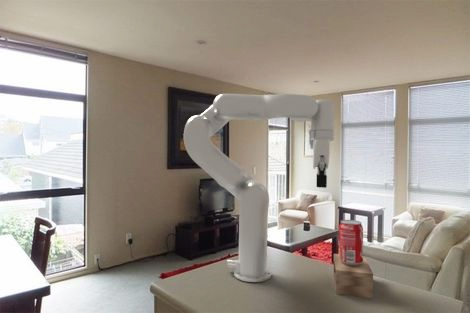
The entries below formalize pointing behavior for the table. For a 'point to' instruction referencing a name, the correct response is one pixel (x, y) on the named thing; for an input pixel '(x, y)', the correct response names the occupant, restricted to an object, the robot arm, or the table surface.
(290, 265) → the table surface
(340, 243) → the soda can
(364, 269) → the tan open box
